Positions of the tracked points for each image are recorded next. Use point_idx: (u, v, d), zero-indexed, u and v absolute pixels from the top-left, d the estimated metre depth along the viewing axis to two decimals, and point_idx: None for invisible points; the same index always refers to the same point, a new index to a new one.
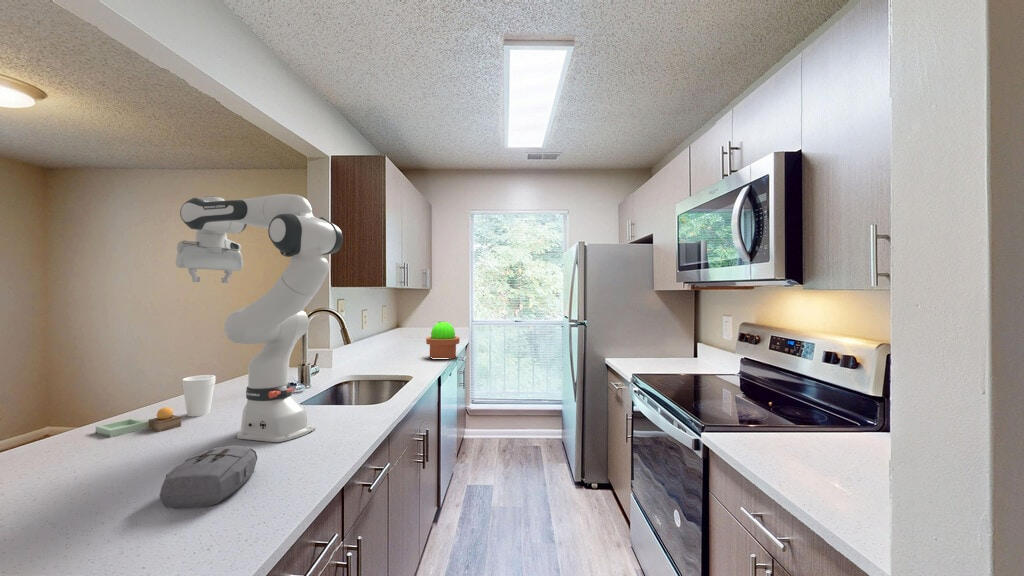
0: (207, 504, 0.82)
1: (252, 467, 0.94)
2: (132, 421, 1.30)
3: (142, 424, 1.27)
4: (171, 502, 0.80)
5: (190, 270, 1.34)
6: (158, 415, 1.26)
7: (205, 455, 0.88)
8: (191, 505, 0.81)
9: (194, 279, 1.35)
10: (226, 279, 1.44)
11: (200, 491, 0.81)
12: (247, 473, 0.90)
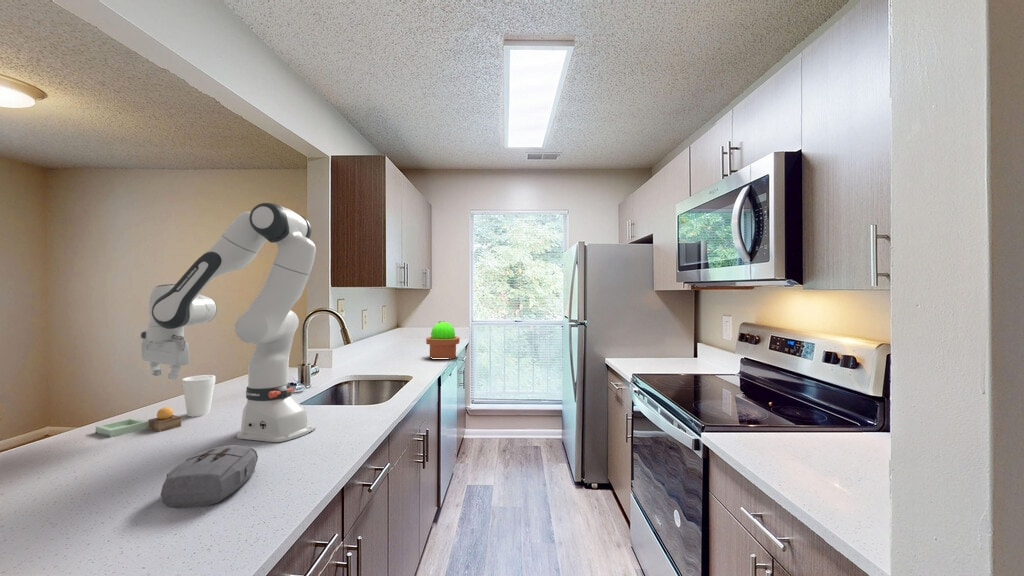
0: (208, 503, 0.82)
1: (253, 466, 0.94)
2: (132, 421, 1.30)
3: (142, 424, 1.27)
4: (171, 501, 0.81)
5: (177, 366, 1.26)
6: (158, 415, 1.26)
7: (206, 454, 0.89)
8: (192, 504, 0.81)
9: (175, 375, 1.27)
10: None
11: (201, 491, 0.82)
12: (248, 472, 0.90)
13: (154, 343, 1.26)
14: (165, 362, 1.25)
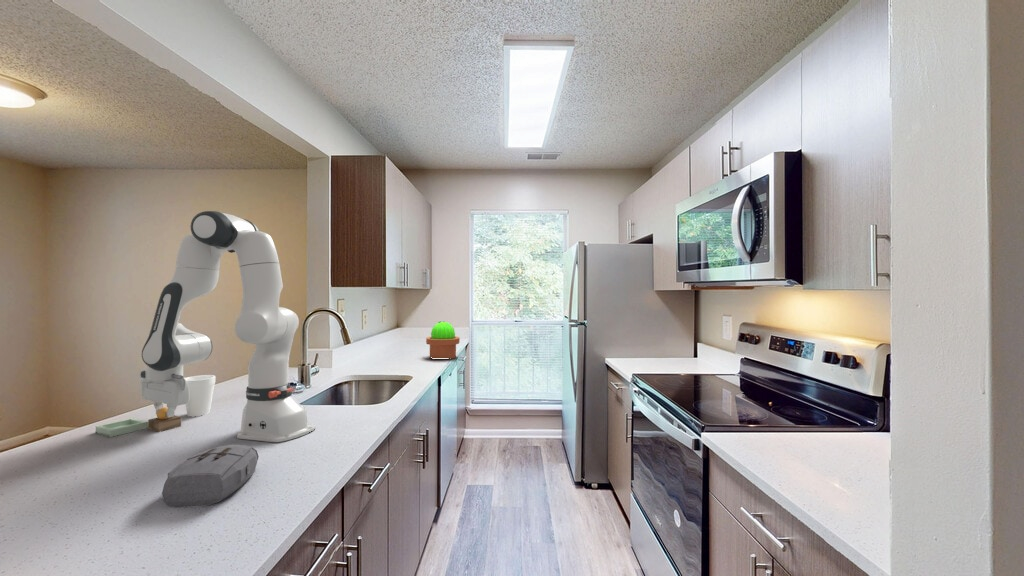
0: (209, 502, 0.83)
1: (253, 466, 0.94)
2: (132, 421, 1.30)
3: (142, 424, 1.27)
4: (173, 500, 0.81)
5: (173, 405, 1.27)
6: (158, 415, 1.26)
7: (207, 454, 0.89)
8: (193, 503, 0.82)
9: (172, 414, 1.27)
10: None
11: (202, 490, 0.82)
12: (248, 472, 0.91)
13: (154, 383, 1.26)
14: (165, 402, 1.25)
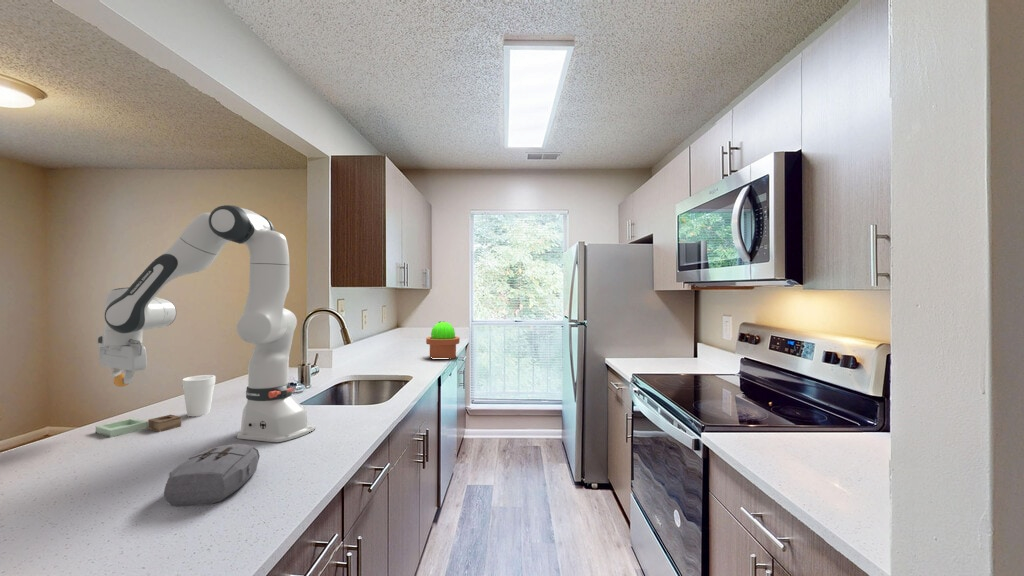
0: (211, 501, 0.83)
1: (254, 465, 0.95)
2: (132, 421, 1.30)
3: (142, 424, 1.27)
4: (175, 499, 0.81)
5: (130, 371, 1.24)
6: (115, 381, 1.24)
7: (208, 453, 0.89)
8: (195, 502, 0.82)
9: (129, 380, 1.25)
10: None
11: (204, 489, 0.82)
12: (250, 471, 0.91)
13: (110, 348, 1.23)
14: (122, 367, 1.22)
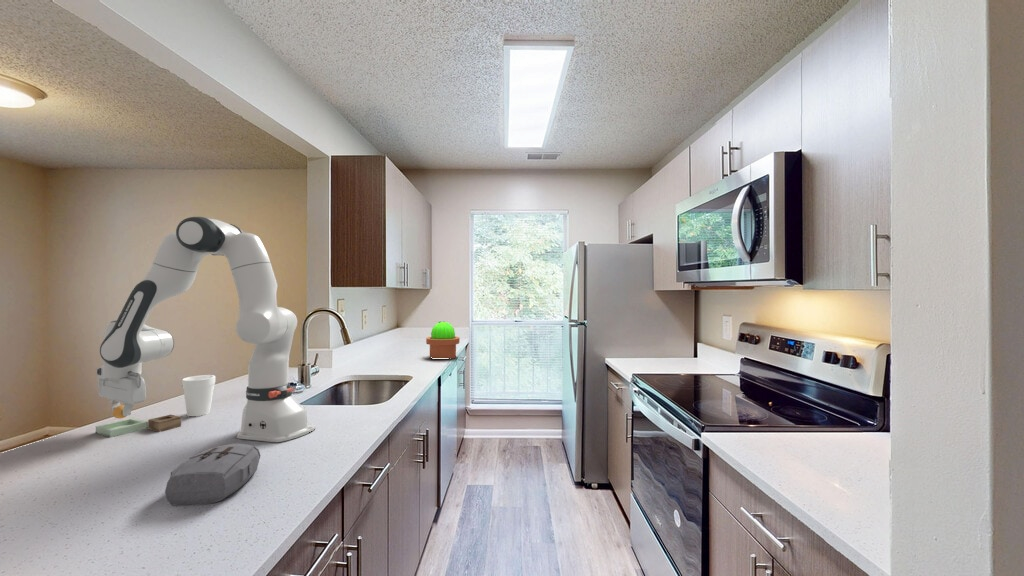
0: (212, 500, 0.83)
1: (255, 465, 0.95)
2: (132, 421, 1.30)
3: (142, 424, 1.27)
4: (176, 498, 0.82)
5: None
6: (114, 413, 1.24)
7: (209, 453, 0.90)
8: (196, 502, 0.82)
9: (128, 412, 1.24)
10: None
11: (205, 488, 0.82)
12: (251, 471, 0.91)
13: (109, 380, 1.23)
14: (121, 400, 1.22)
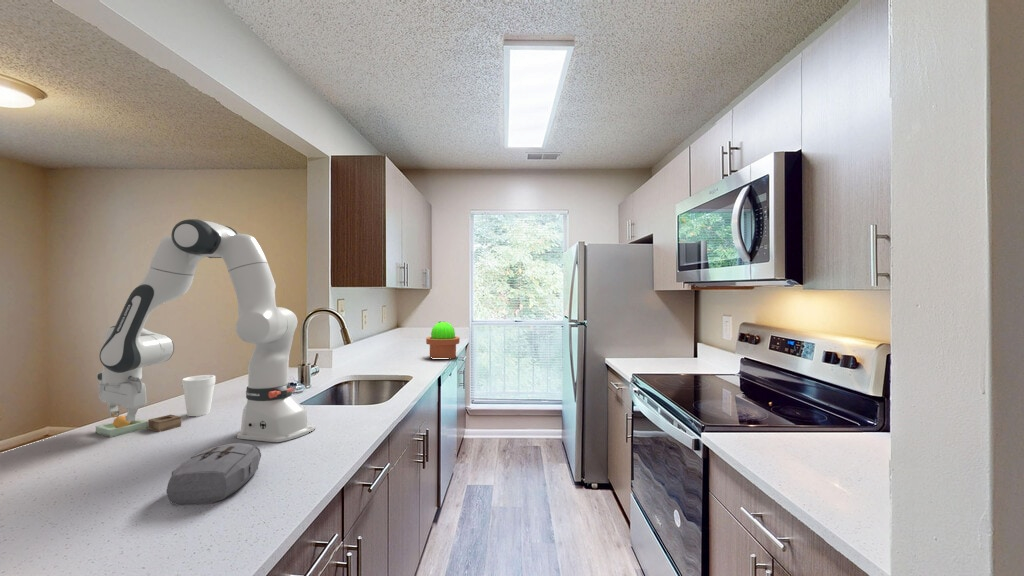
0: (213, 500, 0.83)
1: (256, 464, 0.95)
2: (132, 421, 1.30)
3: (142, 424, 1.27)
4: (177, 498, 0.82)
5: (134, 409, 1.23)
6: (114, 424, 1.24)
7: (210, 452, 0.90)
8: (197, 501, 0.83)
9: (133, 418, 1.24)
10: None
11: (206, 488, 0.83)
12: (251, 470, 0.92)
13: (110, 385, 1.23)
14: (121, 404, 1.22)
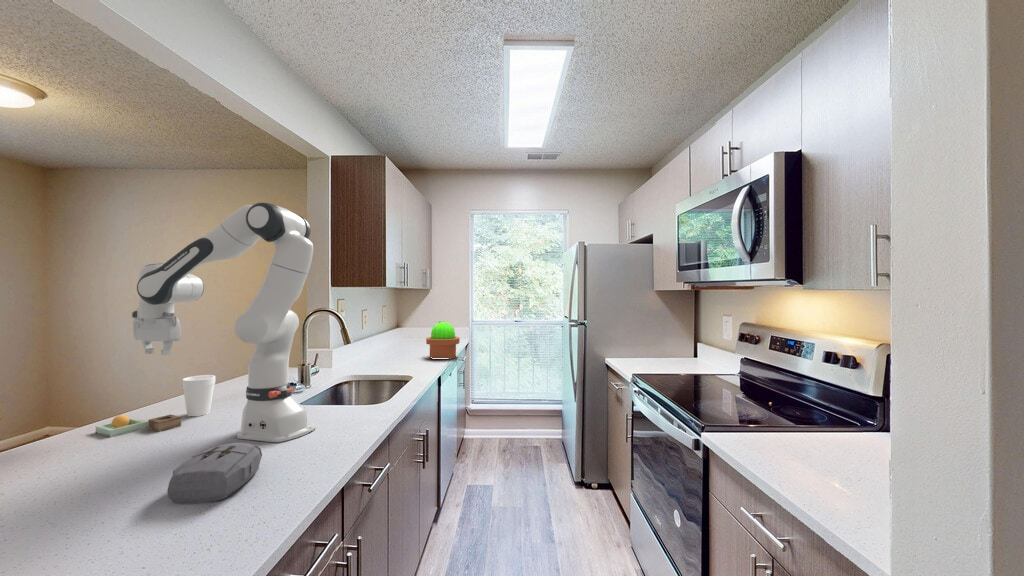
0: (214, 499, 0.84)
1: (257, 464, 0.96)
2: (132, 421, 1.30)
3: (142, 424, 1.27)
4: (178, 497, 0.82)
5: (169, 343, 1.30)
6: (113, 423, 1.24)
7: (211, 452, 0.90)
8: (198, 500, 0.83)
9: (168, 352, 1.30)
10: None
11: (207, 487, 0.83)
12: (252, 469, 0.92)
13: (146, 321, 1.29)
14: (157, 339, 1.29)
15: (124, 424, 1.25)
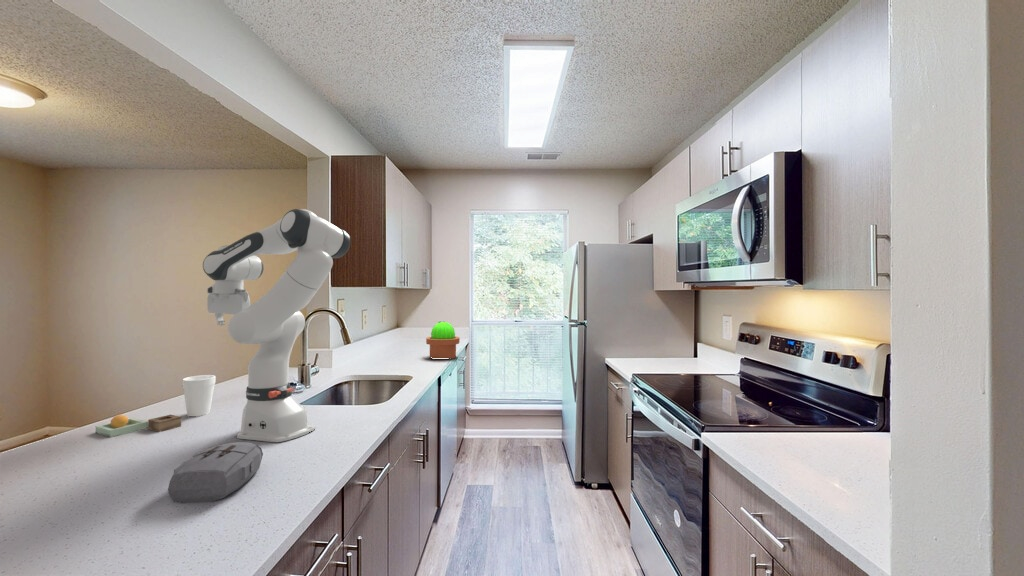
0: (213, 498, 0.84)
1: (257, 463, 0.96)
2: (132, 421, 1.30)
3: (142, 424, 1.27)
4: (178, 496, 0.83)
5: None
6: (111, 422, 1.24)
7: (212, 451, 0.91)
8: (198, 499, 0.83)
9: None
10: None
11: (207, 486, 0.83)
12: (252, 469, 0.92)
13: (220, 296, 1.46)
14: (230, 312, 1.46)
15: (123, 422, 1.26)
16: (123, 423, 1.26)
